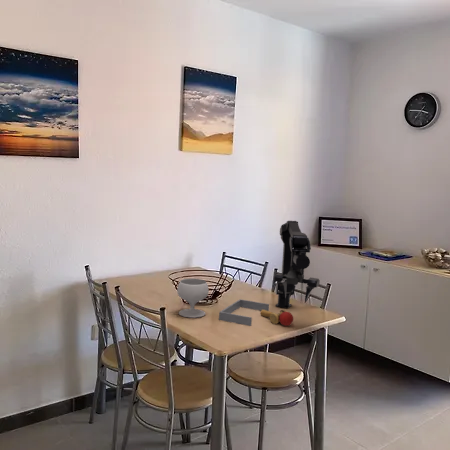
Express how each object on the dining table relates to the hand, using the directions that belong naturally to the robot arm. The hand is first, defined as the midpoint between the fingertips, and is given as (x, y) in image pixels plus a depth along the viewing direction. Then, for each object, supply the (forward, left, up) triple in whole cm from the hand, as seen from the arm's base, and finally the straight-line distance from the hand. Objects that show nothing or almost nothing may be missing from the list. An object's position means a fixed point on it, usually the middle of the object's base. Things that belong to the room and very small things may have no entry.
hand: (295, 299), depth 198 cm
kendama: (0, -8, -12) cm, 14 cm away
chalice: (+11, -44, -11) cm, 47 cm away
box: (0, -22, -11) cm, 25 cm away
